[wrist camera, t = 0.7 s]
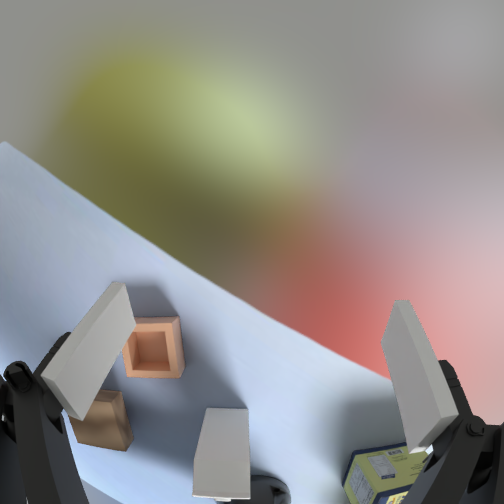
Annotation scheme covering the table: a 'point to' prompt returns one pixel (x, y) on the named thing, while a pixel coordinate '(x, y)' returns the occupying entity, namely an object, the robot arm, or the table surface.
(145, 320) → the open square box
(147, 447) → the table surface
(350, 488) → the protein box
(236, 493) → the milk carton
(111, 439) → the brown box
